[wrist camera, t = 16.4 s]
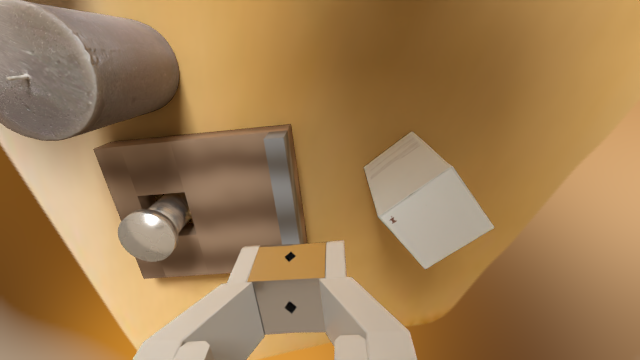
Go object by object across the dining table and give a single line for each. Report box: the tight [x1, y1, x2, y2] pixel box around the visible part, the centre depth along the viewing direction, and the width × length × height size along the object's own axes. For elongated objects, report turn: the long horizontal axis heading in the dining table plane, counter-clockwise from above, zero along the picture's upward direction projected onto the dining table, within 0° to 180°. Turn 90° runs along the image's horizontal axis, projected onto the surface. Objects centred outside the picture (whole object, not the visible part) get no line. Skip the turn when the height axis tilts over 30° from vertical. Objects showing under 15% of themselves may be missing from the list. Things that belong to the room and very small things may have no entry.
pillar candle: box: [0, 0, 179, 141], centre depth 28 cm, size 10×10×15 cm
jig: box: [94, 124, 308, 279], centre depth 38 cm, size 18×22×6 cm
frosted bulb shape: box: [118, 192, 192, 262], centre depth 38 cm, size 6×6×8 cm
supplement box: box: [364, 131, 494, 269], centre depth 33 cm, size 7×7×13 cm
